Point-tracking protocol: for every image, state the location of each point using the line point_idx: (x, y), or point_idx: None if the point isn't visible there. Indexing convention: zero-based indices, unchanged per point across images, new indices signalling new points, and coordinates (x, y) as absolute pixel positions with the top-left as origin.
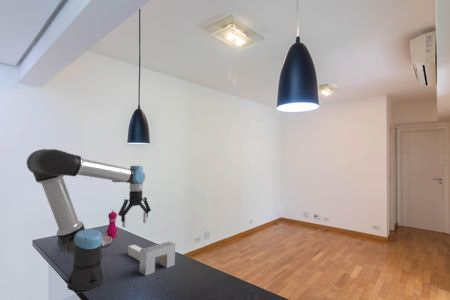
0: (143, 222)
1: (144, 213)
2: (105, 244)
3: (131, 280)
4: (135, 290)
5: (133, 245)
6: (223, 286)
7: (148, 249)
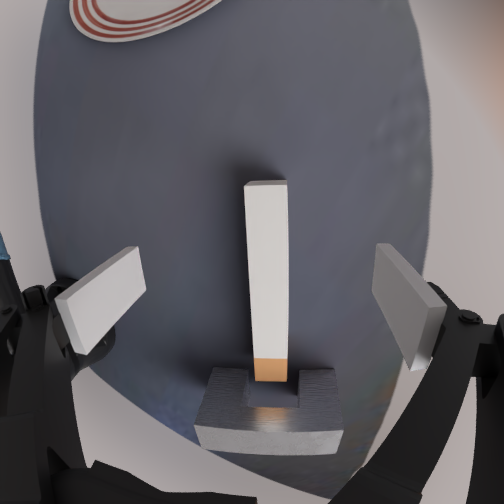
0: (376, 253)
1: (416, 332)
2: (190, 17)
3: (176, 386)
4: (171, 417)
5: (274, 196)
6: (317, 480)
7: (219, 440)
